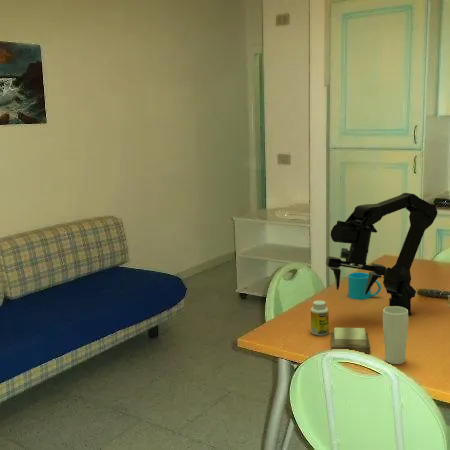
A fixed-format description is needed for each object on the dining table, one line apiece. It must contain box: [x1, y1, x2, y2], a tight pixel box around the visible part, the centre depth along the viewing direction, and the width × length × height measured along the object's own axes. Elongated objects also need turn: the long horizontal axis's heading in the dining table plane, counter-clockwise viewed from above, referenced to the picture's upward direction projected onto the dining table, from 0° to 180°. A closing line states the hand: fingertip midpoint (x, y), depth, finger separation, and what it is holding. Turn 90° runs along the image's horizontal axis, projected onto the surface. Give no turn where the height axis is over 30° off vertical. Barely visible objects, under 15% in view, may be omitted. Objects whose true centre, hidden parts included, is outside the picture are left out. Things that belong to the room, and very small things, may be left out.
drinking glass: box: [382, 305, 409, 365], centre depth 162 cm, size 7×7×15 cm
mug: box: [347, 271, 382, 301], centre depth 218 cm, size 12×8×8 cm
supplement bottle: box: [310, 300, 330, 337], centre depth 185 cm, size 6×6×10 cm
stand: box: [330, 327, 371, 355], centre depth 175 cm, size 11×11×4 cm
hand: (351, 291), depth 190 cm, fingers open, 9 cm apart
